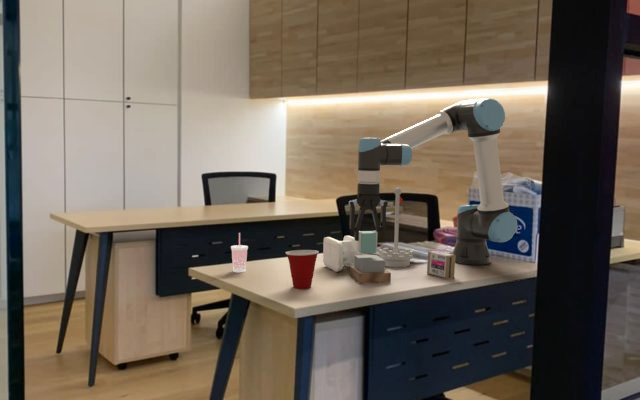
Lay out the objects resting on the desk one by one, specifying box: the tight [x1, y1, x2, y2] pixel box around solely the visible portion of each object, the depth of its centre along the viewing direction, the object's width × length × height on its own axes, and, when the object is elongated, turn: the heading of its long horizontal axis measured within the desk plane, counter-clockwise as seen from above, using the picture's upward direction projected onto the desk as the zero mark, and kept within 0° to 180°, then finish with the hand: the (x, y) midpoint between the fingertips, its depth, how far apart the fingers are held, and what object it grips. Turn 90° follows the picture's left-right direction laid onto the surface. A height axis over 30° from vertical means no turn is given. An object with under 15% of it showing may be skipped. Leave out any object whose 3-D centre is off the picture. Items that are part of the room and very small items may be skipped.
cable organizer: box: [322, 235, 363, 273], centre depth 228 cm, size 15×11×12 cm
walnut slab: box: [349, 266, 392, 285], centre depth 213 cm, size 11×13×4 cm
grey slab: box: [354, 254, 386, 273], centre depth 213 cm, size 8×10×4 cm
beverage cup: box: [230, 232, 249, 273], centre depth 221 cm, size 6×6×14 cm
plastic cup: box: [285, 249, 319, 290], centre depth 199 cm, size 11×11×12 cm
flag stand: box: [378, 187, 414, 268], centre depth 238 cm, size 13×13×30 cm
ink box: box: [426, 250, 456, 280], centre depth 219 cm, size 10×4×8 cm, turn 37°
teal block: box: [359, 230, 377, 255], centre depth 212 cm, size 5×5×7 cm
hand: (366, 249), depth 212 cm, fingers closed on teal block, 5 cm apart
